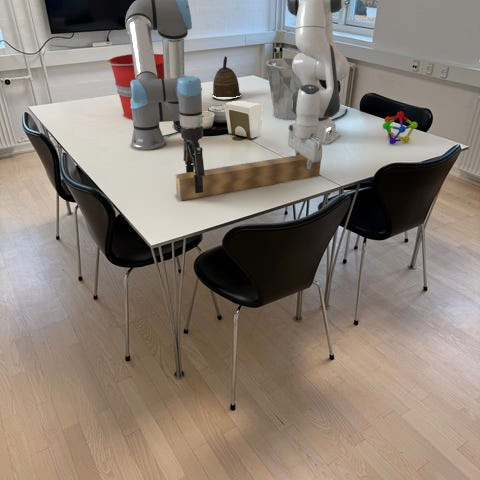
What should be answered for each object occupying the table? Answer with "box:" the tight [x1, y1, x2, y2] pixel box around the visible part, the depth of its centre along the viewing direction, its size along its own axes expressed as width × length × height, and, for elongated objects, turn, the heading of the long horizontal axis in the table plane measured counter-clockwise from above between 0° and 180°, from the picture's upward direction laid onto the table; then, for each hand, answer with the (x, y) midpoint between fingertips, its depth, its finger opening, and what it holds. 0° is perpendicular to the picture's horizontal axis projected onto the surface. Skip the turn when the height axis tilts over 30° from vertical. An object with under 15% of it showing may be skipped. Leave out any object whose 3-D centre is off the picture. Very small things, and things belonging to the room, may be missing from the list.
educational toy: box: [382, 110, 418, 145], centre depth 207 cm, size 16×13×15 cm
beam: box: [175, 155, 322, 202], centre depth 168 cm, size 58×5×8 cm, turn 113°
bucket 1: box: [106, 53, 164, 120], centre depth 242 cm, size 35×35×30 cm
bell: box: [212, 56, 242, 97], centre depth 278 cm, size 19×26×20 cm
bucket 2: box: [265, 57, 303, 121], centre depth 241 cm, size 30×30×28 cm
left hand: (194, 186), depth 160 cm, fingers open, 9 cm apart
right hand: (303, 164), depth 175 cm, fingers open, 6 cm apart
